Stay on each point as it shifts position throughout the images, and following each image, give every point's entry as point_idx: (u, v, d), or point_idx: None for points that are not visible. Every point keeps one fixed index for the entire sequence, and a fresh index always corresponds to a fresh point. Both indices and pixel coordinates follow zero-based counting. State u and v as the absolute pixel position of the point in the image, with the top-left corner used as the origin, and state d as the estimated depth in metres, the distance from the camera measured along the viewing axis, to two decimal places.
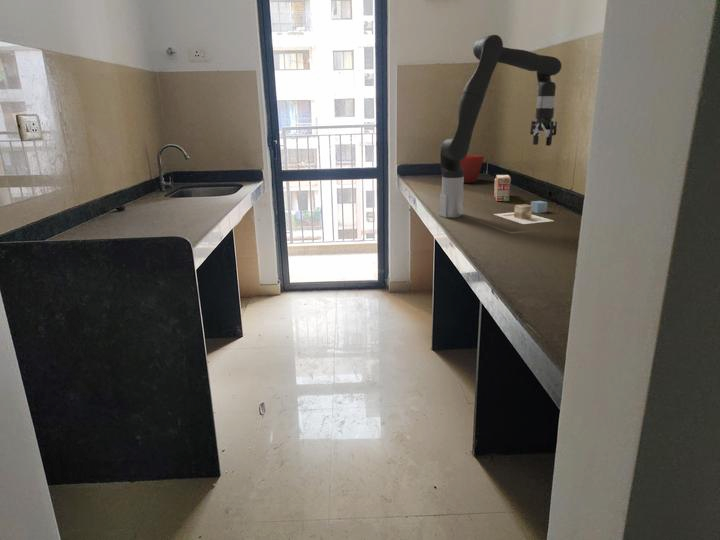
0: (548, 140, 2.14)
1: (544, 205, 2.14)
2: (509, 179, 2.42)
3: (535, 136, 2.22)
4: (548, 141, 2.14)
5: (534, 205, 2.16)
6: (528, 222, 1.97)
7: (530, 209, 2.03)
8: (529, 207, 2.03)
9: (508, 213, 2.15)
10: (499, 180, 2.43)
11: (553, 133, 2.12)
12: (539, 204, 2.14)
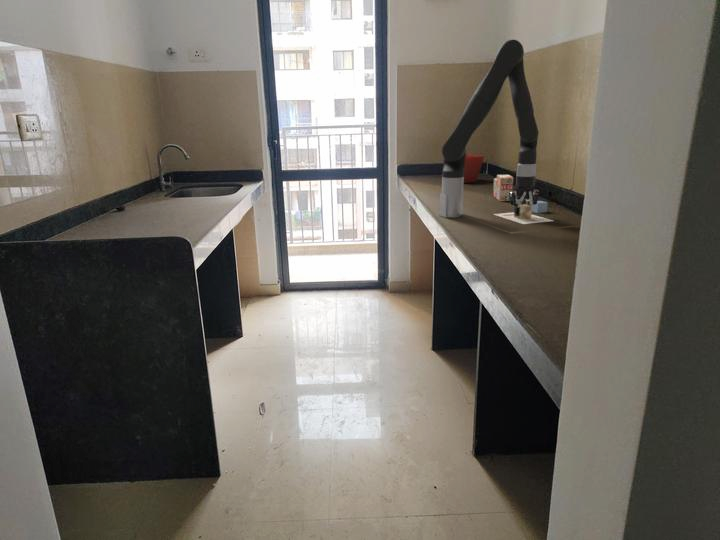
0: None
1: (544, 205, 2.14)
2: (512, 179, 2.43)
3: None
4: None
5: (534, 205, 2.16)
6: (528, 222, 1.97)
7: (530, 209, 2.03)
8: (529, 207, 2.03)
9: (508, 213, 2.15)
10: (502, 180, 2.43)
11: None
12: (539, 204, 2.14)
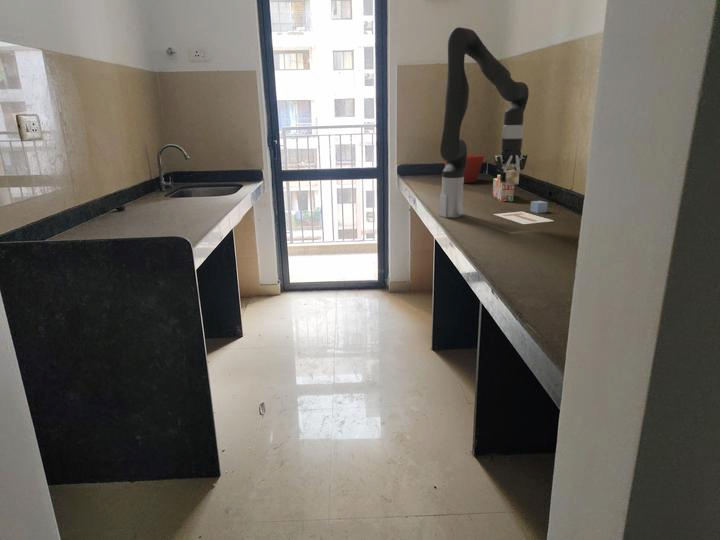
0: None
1: (544, 205, 2.14)
2: None
3: None
4: None
5: (534, 205, 2.16)
6: (528, 222, 1.97)
7: (517, 175, 1.90)
8: (516, 172, 1.89)
9: (508, 213, 2.15)
10: None
11: None
12: (539, 204, 2.14)
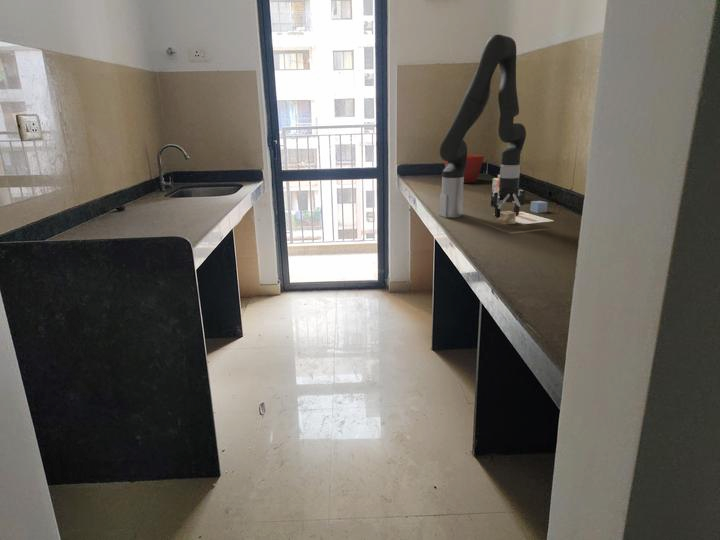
0: (518, 210, 1.97)
1: (544, 205, 2.15)
2: None
3: None
4: (518, 211, 1.97)
5: (534, 205, 2.16)
6: (528, 222, 1.97)
7: (514, 216, 1.95)
8: (513, 214, 1.94)
9: None
10: None
11: None
12: (539, 204, 2.14)
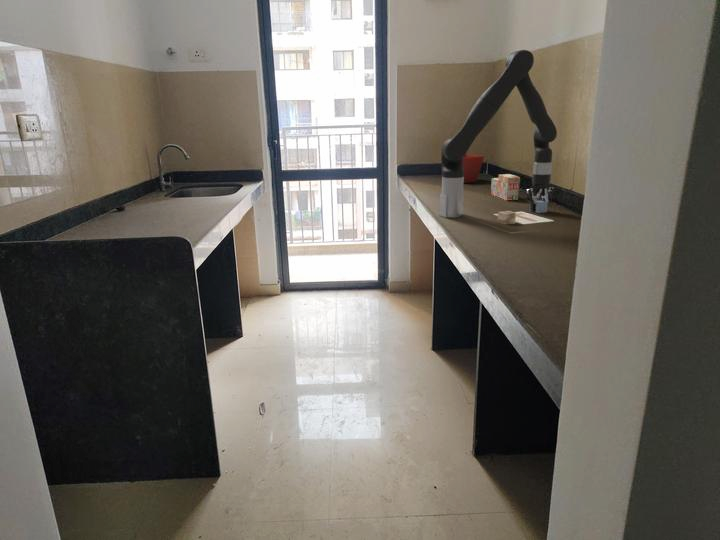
0: None
1: (544, 205, 2.14)
2: (518, 178, 2.45)
3: None
4: None
5: None
6: (528, 222, 1.97)
7: (514, 216, 1.95)
8: (513, 214, 1.94)
9: None
10: (509, 179, 2.44)
11: None
12: (539, 204, 2.13)
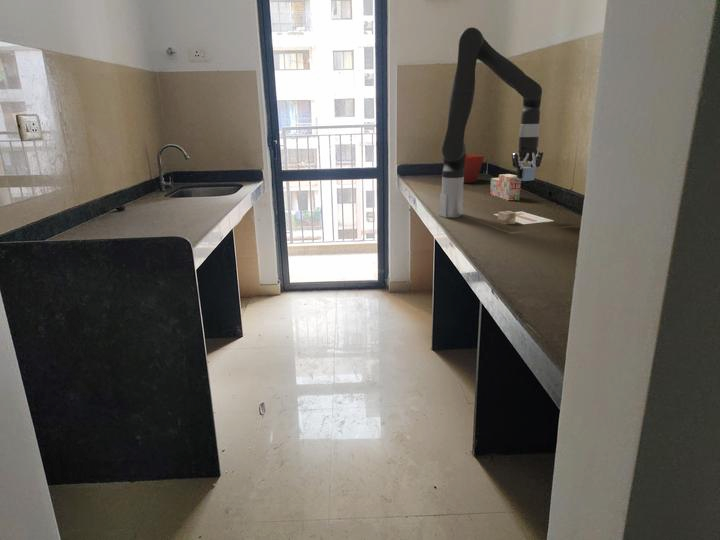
0: None
1: (531, 171, 1.98)
2: None
3: None
4: None
5: None
6: (528, 222, 1.97)
7: (514, 216, 1.95)
8: (513, 214, 1.94)
9: None
10: (511, 179, 2.45)
11: None
12: (526, 169, 1.97)
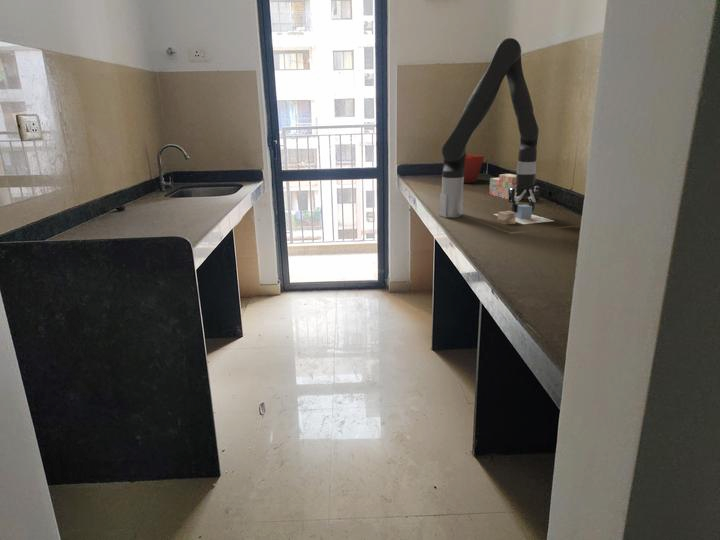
0: (533, 206, 2.05)
1: (528, 209, 2.03)
2: None
3: None
4: (533, 207, 2.06)
5: (518, 209, 2.04)
6: (528, 222, 1.97)
7: (514, 216, 1.95)
8: (513, 214, 1.94)
9: None
10: (513, 179, 2.45)
11: None
12: (523, 208, 2.02)
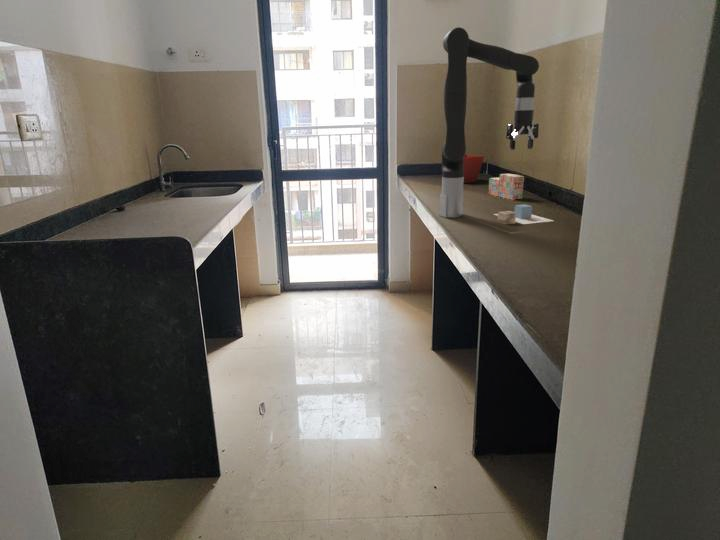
0: (532, 143, 2.08)
1: (528, 209, 2.03)
2: (523, 177, 2.48)
3: None
4: (532, 144, 2.08)
5: (518, 209, 2.04)
6: (528, 222, 1.97)
7: (514, 216, 1.95)
8: (512, 214, 1.94)
9: None
10: (515, 179, 2.46)
11: None
12: (523, 208, 2.02)
